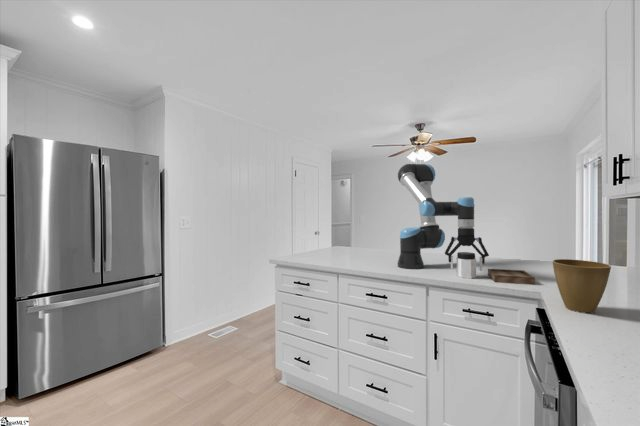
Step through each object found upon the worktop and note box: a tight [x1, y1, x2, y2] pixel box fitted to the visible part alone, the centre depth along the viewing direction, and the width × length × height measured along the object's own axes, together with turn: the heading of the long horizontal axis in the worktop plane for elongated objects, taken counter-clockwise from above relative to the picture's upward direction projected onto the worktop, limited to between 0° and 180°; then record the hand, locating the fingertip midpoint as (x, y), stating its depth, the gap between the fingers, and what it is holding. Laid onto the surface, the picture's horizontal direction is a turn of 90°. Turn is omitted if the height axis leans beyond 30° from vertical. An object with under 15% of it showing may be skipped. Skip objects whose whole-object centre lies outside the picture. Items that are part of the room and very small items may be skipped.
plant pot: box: [552, 258, 612, 313], centre depth 101 cm, size 15×15×16 cm
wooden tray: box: [487, 268, 536, 286], centre depth 145 cm, size 16×16×3 cm
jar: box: [456, 251, 477, 279], centre depth 152 cm, size 9×8×12 cm
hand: (466, 269), depth 152 cm, fingers open, 13 cm apart
